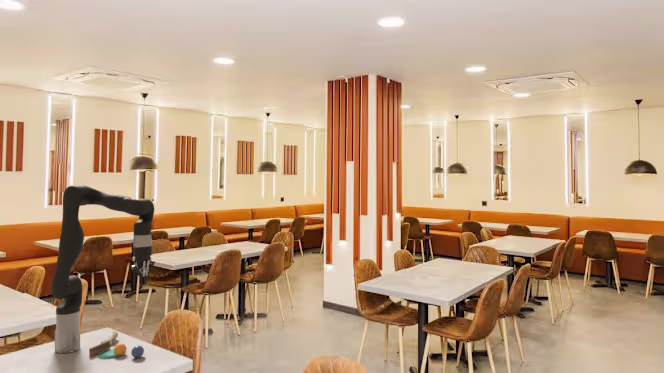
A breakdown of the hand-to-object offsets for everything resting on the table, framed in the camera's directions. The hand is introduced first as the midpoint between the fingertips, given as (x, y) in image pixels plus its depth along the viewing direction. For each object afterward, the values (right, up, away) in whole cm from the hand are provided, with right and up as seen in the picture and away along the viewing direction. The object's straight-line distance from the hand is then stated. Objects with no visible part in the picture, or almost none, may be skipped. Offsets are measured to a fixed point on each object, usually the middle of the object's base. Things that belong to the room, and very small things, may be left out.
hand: (143, 284), depth 187 cm
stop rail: (-21, -31, +4) cm, 38 cm away
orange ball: (-10, -29, +1) cm, 30 cm away
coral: (-23, -32, +15) cm, 42 cm away
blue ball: (-1, -29, -2) cm, 29 cm away
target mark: (-15, -31, +2) cm, 35 cm away
